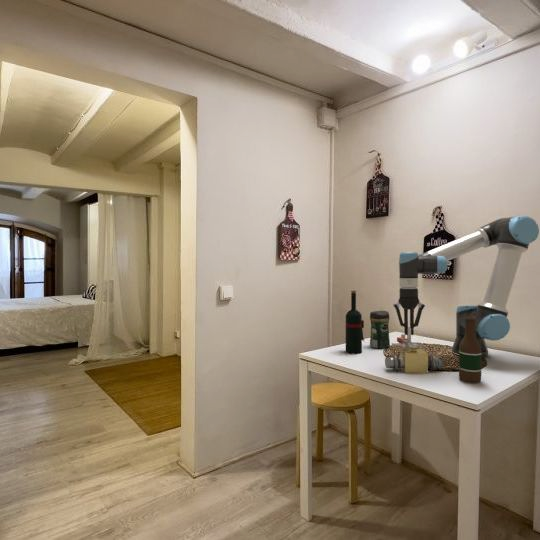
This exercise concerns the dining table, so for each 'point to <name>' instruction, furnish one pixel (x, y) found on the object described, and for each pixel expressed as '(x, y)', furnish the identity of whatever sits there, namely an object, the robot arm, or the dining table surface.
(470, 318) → the beer bottle
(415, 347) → the lever
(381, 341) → the coffee jar
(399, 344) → the pipe connector
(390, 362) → the pipe
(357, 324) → the wine bottle
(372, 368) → the dining table surface
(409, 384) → the dining table surface
